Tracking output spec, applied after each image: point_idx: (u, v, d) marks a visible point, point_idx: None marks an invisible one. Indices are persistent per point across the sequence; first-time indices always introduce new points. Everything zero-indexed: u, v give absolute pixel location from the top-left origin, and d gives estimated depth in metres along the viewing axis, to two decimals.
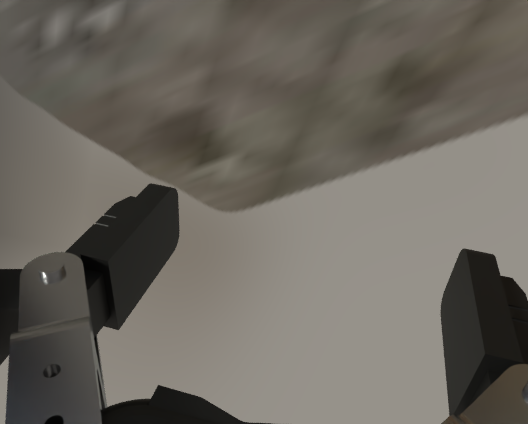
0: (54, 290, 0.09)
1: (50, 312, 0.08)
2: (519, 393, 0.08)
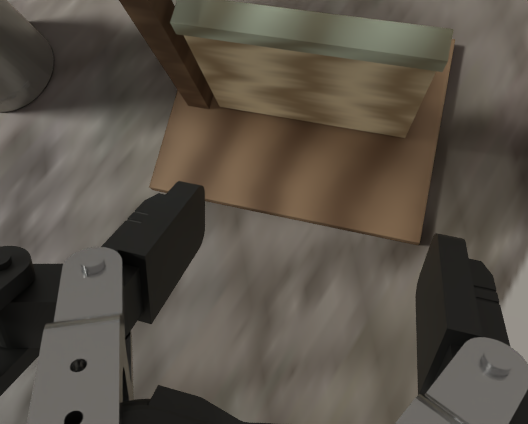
0: (92, 284, 0.09)
1: (86, 306, 0.09)
2: (475, 363, 0.08)
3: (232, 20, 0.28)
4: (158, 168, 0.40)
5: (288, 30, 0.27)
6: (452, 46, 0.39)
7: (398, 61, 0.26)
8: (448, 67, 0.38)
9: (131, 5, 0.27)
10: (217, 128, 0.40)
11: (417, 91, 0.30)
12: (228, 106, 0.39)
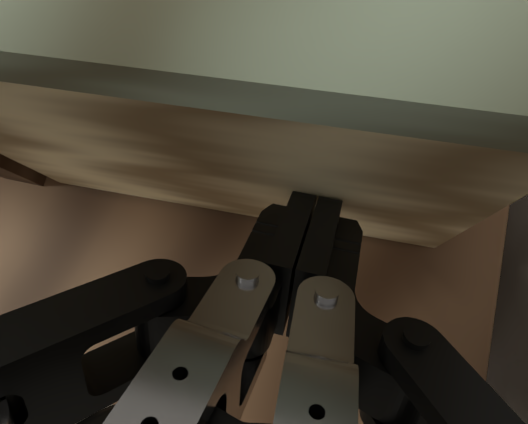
0: (237, 296, 0.09)
1: (221, 315, 0.09)
2: (307, 295, 0.09)
3: None
4: None
5: (31, 22, 0.07)
6: None
7: (454, 130, 0.07)
8: None
9: None
10: (55, 226, 0.20)
11: (491, 195, 0.10)
12: (74, 183, 0.20)
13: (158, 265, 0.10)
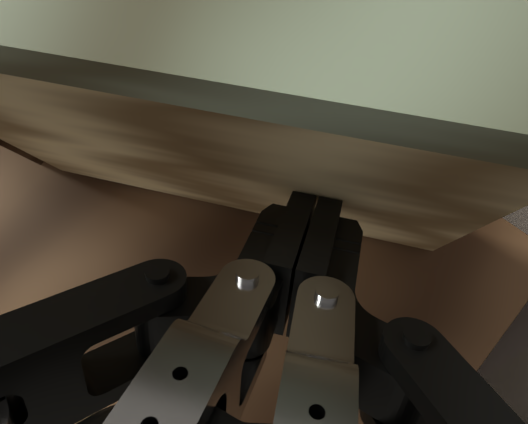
0: (237, 296, 0.09)
1: (221, 315, 0.09)
2: (307, 295, 0.09)
3: None
4: None
5: (33, 17, 0.07)
6: None
7: (452, 143, 0.07)
8: (515, 311, 0.17)
9: None
10: (34, 208, 0.20)
11: (490, 204, 0.10)
12: (76, 172, 0.20)
13: (158, 265, 0.10)
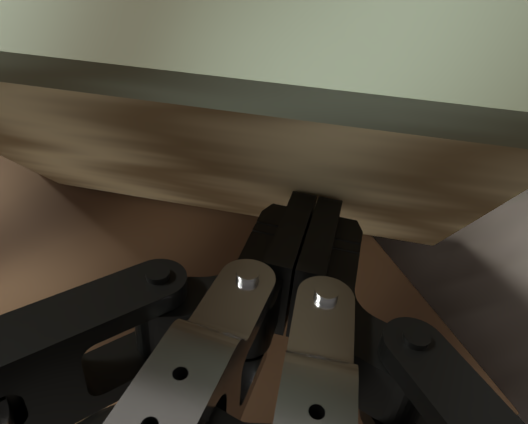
0: (237, 296, 0.09)
1: (221, 315, 0.09)
2: (307, 295, 0.09)
3: None
4: None
5: (30, 22, 0.07)
6: None
7: (451, 126, 0.07)
8: None
9: None
10: (20, 214, 0.20)
11: (489, 191, 0.10)
12: (73, 184, 0.20)
13: (158, 266, 0.10)
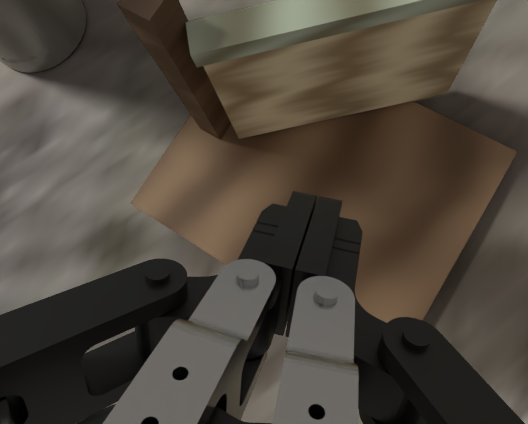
0: (237, 296, 0.09)
1: (222, 315, 0.09)
2: (307, 295, 0.09)
3: (260, 26, 0.23)
4: (146, 186, 0.36)
5: (329, 12, 0.23)
6: (511, 159, 0.33)
7: (460, 0, 0.23)
8: (498, 181, 0.32)
9: (136, 24, 0.23)
10: (221, 164, 0.35)
11: (471, 31, 0.26)
12: (249, 134, 0.35)
13: (159, 266, 0.10)
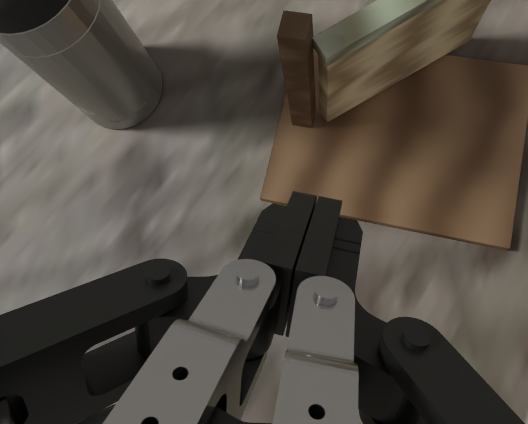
0: (237, 296, 0.09)
1: (221, 315, 0.09)
2: (307, 294, 0.09)
3: (367, 24, 0.33)
4: (267, 181, 0.44)
5: (411, 1, 0.33)
6: None
7: None
8: None
9: (287, 47, 0.32)
10: (320, 145, 0.45)
11: None
12: (335, 116, 0.44)
13: (158, 266, 0.10)
